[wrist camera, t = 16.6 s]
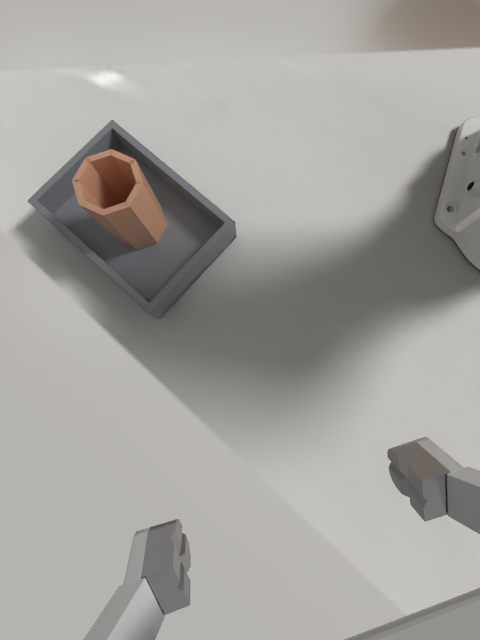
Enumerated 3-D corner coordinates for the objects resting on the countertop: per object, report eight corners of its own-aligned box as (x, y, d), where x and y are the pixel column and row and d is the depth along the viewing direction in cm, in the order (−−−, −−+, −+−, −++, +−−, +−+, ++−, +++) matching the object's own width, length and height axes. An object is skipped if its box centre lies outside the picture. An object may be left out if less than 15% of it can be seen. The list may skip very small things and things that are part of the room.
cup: (108, 209, 36) (67, 163, 28) (156, 193, 36) (129, 142, 28) (122, 255, 35) (83, 221, 27) (171, 238, 35) (148, 200, 27)
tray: (50, 217, 37) (27, 200, 33) (125, 144, 38) (112, 119, 34) (160, 318, 35) (149, 313, 31) (236, 237, 36) (235, 221, 32)
